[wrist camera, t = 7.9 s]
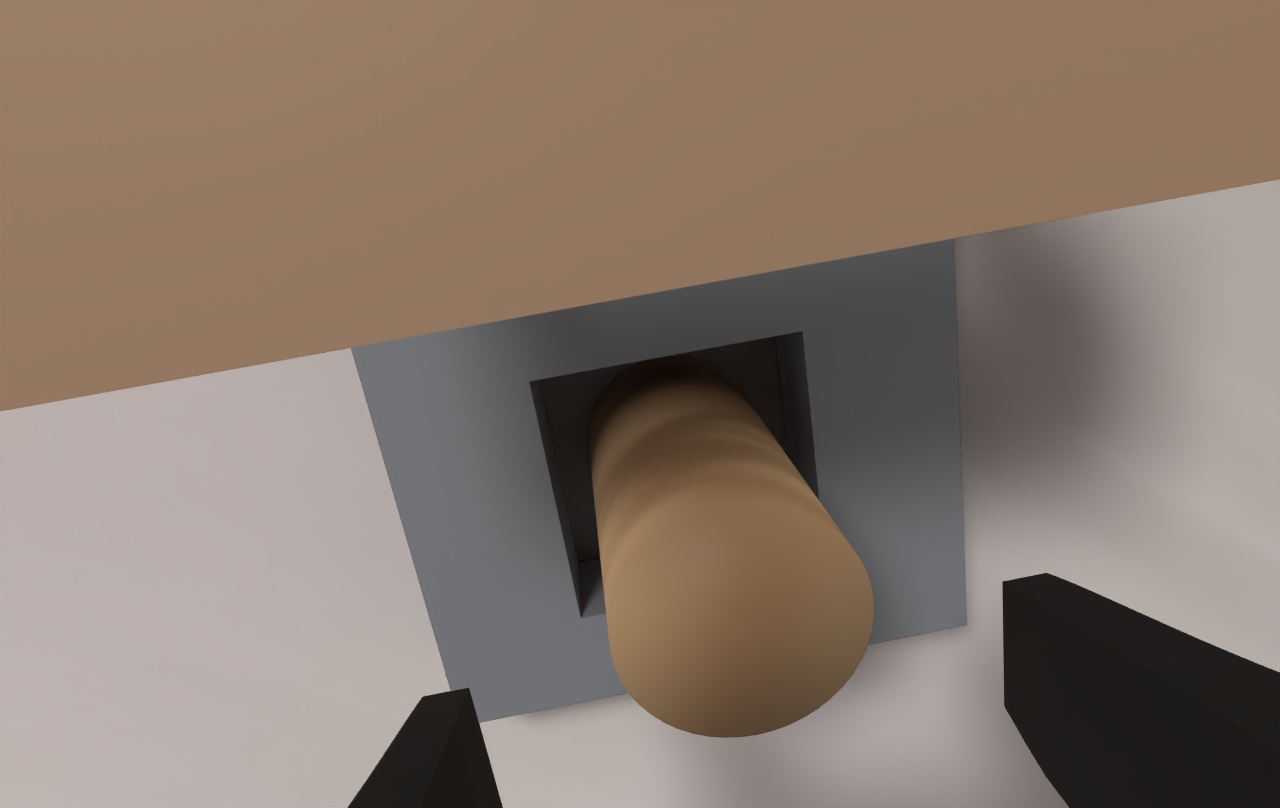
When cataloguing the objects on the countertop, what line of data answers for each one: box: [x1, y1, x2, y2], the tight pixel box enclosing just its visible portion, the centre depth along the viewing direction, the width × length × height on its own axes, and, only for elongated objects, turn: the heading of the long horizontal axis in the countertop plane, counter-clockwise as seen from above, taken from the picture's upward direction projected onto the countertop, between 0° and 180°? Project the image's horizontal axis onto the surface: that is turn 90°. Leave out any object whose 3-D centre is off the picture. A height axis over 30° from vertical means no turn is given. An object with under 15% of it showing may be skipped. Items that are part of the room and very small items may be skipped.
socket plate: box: [0, 0, 1280, 723], centre depth 13 cm, size 16×13×12 cm
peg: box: [588, 356, 874, 738], centre depth 16 cm, size 4×4×8 cm
